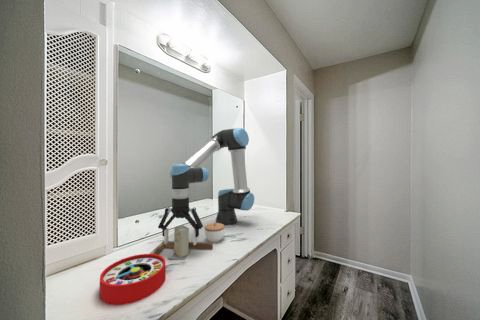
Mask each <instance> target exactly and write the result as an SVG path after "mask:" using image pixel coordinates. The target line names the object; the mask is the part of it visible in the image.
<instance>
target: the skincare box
mask: <svg viewBox="0 0 480 320" xmlns="http://www.w3.org/2000/svg"><path fill="white" fill-rule="evenodd" d="M189 233H190V229H189V227H188V226H185V225H184V224H181V225H178V226H177V225H176V226H174V234H173V235H174V236H173V237H174V238H173V239H174V240H173V241H174V249H173V253H175V254H176V255H177V256H178V257H183V256H186V255H189V254H188V250H189V249H188V242H190V240H189V237H190V236H189V235H190V234H189Z"/></svg>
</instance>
